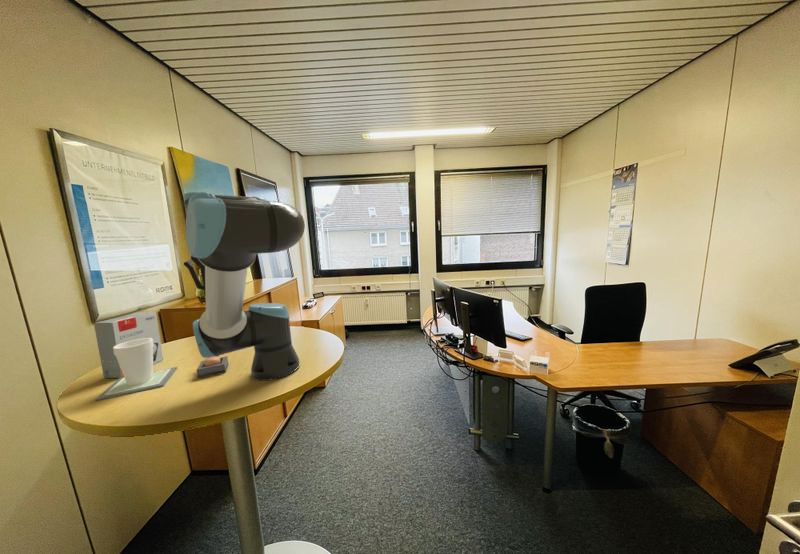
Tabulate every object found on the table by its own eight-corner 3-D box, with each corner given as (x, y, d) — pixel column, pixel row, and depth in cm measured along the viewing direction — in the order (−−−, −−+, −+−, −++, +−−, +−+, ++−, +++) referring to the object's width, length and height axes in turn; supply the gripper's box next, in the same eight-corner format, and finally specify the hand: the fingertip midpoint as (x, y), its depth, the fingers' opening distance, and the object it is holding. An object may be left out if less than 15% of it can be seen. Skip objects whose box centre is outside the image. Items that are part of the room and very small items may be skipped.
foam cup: (135, 389, 87) (127, 349, 86) (112, 387, 89) (104, 348, 88) (166, 374, 96) (160, 338, 95) (145, 373, 98) (138, 337, 97)
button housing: (225, 372, 97) (224, 364, 97) (197, 378, 94) (196, 369, 93) (228, 363, 104) (227, 356, 104) (202, 369, 101) (201, 361, 100)
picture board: (163, 386, 89) (163, 383, 89) (95, 400, 83) (95, 398, 83) (177, 368, 103) (176, 366, 103) (119, 379, 96) (119, 377, 96)
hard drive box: (120, 378, 97) (109, 323, 94) (102, 378, 98) (91, 323, 96) (164, 359, 112) (156, 311, 110) (148, 359, 113) (140, 311, 111)
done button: (220, 367, 98) (218, 359, 97) (204, 371, 96) (202, 362, 95) (221, 363, 102) (220, 355, 101) (206, 366, 100) (205, 358, 99)
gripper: (226, 239, 102) (235, 303, 104) (182, 241, 96) (192, 309, 98) (225, 238, 95) (234, 306, 98) (177, 240, 89) (189, 313, 92)
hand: (213, 307), depth 98 cm, fingers closed
